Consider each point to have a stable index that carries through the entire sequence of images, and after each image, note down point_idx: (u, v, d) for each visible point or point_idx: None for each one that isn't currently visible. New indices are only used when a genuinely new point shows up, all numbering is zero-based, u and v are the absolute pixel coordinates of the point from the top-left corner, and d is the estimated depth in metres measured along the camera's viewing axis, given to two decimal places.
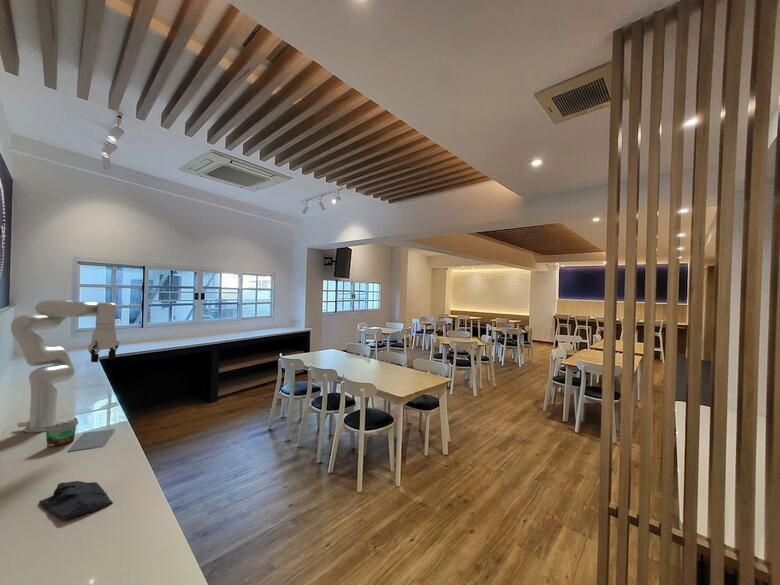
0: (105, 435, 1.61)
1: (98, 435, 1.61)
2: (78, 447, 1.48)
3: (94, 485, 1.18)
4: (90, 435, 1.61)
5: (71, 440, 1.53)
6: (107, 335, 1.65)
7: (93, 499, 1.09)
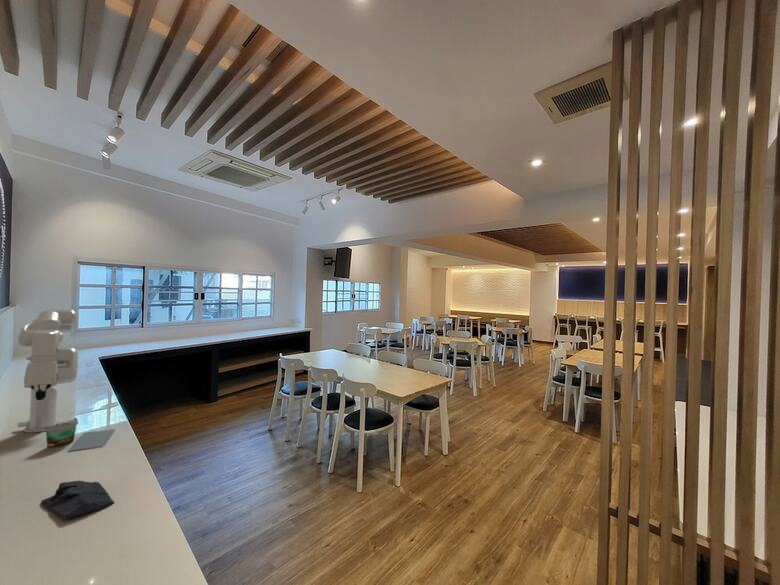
0: (105, 435, 1.61)
1: (98, 435, 1.61)
2: (78, 447, 1.48)
3: (95, 485, 1.18)
4: (90, 435, 1.61)
5: (71, 440, 1.53)
6: None
7: (95, 498, 1.09)
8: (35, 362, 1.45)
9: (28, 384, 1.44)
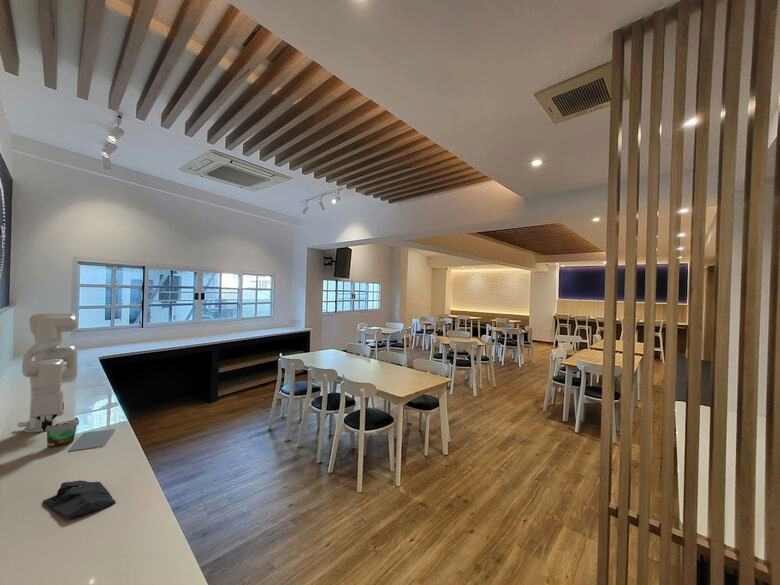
0: (105, 435, 1.61)
1: (98, 435, 1.61)
2: (78, 447, 1.48)
3: (97, 484, 1.18)
4: (90, 435, 1.61)
5: (71, 440, 1.53)
6: None
7: (97, 498, 1.09)
8: (41, 393, 1.46)
9: (34, 415, 1.45)
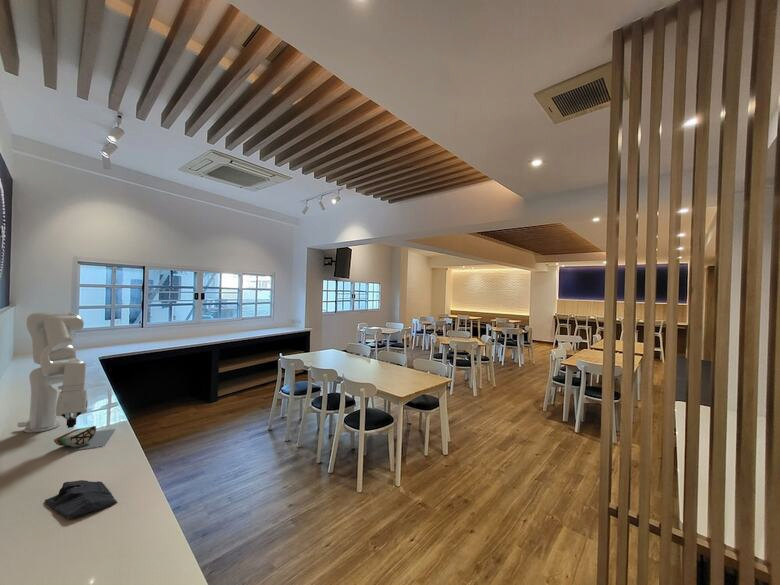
0: (105, 435, 1.61)
1: (98, 435, 1.61)
2: (78, 447, 1.48)
3: (98, 484, 1.18)
4: None
5: None
6: None
7: (98, 498, 1.09)
8: (66, 391, 1.50)
9: (60, 413, 1.49)
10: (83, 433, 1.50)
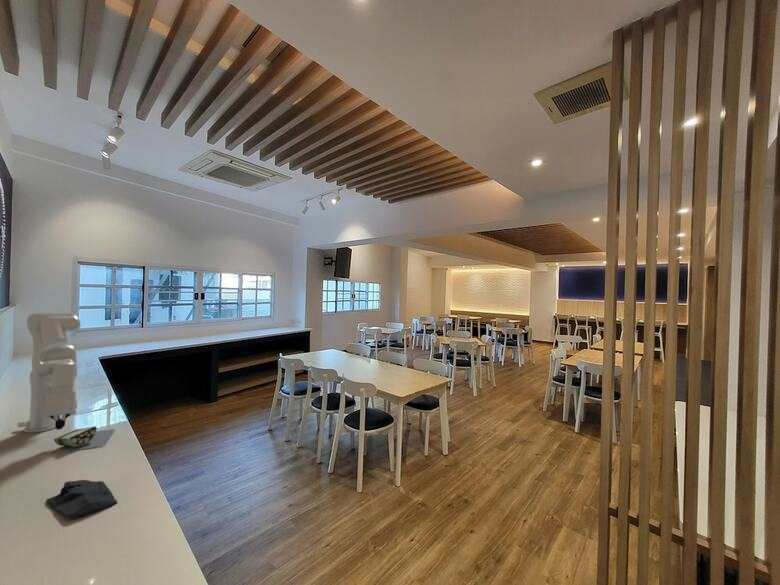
0: (105, 435, 1.61)
1: (98, 435, 1.61)
2: (78, 447, 1.48)
3: (100, 484, 1.18)
4: None
5: None
6: None
7: (98, 498, 1.09)
8: (55, 393, 1.48)
9: (48, 414, 1.47)
10: (83, 433, 1.51)
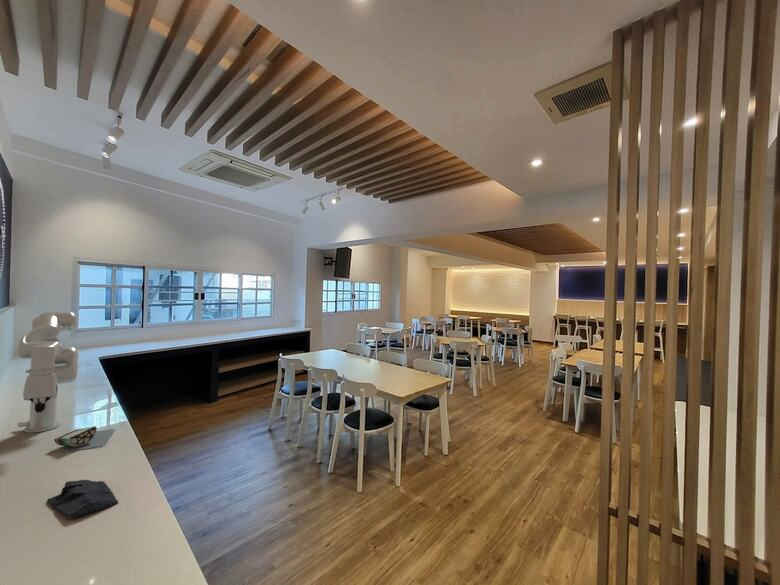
0: (105, 435, 1.61)
1: (98, 435, 1.61)
2: (78, 447, 1.48)
3: (100, 484, 1.18)
4: None
5: None
6: None
7: (99, 498, 1.09)
8: (34, 375, 1.45)
9: (27, 397, 1.45)
10: (84, 433, 1.51)
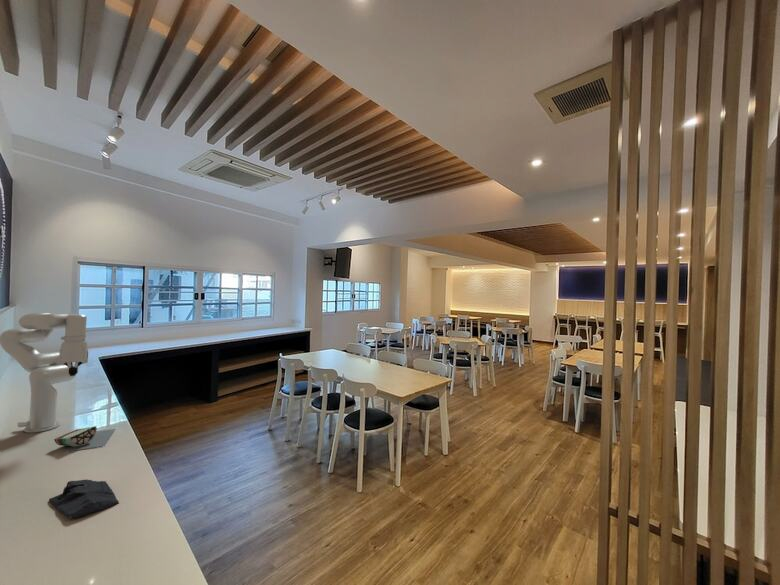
0: (105, 435, 1.61)
1: (98, 435, 1.61)
2: (78, 447, 1.48)
3: (102, 484, 1.19)
4: None
5: None
6: None
7: (100, 498, 1.10)
8: (68, 341, 1.61)
9: (62, 361, 1.60)
10: (83, 433, 1.51)
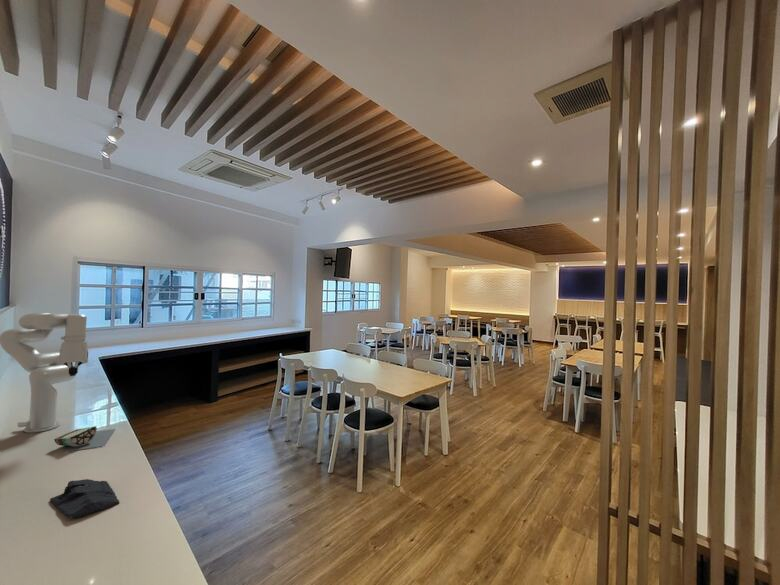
0: (105, 435, 1.61)
1: (98, 435, 1.61)
2: (78, 447, 1.48)
3: (103, 484, 1.19)
4: None
5: None
6: None
7: (101, 498, 1.10)
8: (69, 341, 1.61)
9: (62, 361, 1.60)
10: (83, 433, 1.51)
